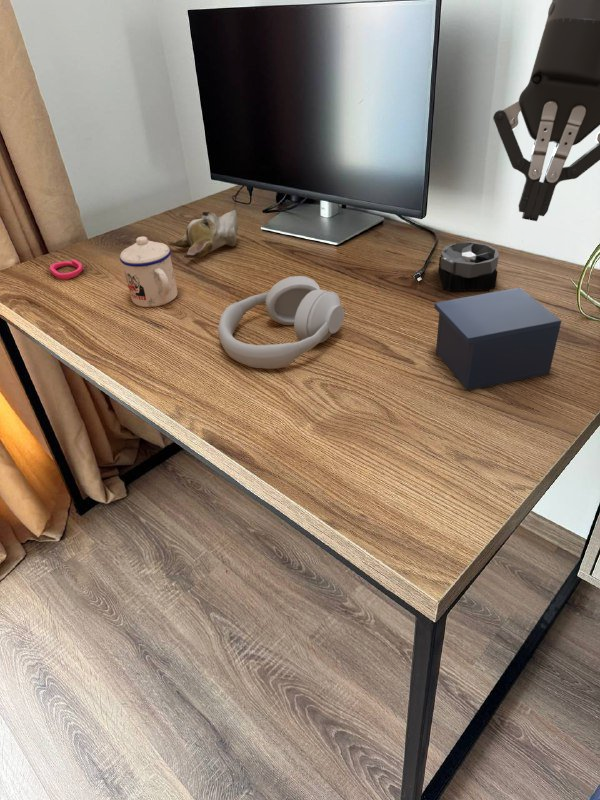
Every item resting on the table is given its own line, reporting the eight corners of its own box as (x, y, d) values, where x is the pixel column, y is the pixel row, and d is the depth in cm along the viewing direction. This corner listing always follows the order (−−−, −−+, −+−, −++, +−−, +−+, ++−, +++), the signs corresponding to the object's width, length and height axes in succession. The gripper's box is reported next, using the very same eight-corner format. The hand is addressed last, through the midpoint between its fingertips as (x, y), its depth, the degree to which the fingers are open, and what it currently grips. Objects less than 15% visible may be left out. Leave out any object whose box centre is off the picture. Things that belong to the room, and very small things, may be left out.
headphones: (303, 296, 106) (207, 346, 99) (295, 257, 101) (193, 307, 94) (367, 337, 93) (261, 396, 87) (361, 295, 88) (249, 355, 82)
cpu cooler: (493, 239, 109) (505, 262, 100) (489, 268, 112) (500, 292, 104) (436, 241, 109) (443, 264, 101) (434, 270, 113) (440, 294, 105)
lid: (467, 344, 77) (468, 338, 76) (433, 307, 85) (434, 302, 84) (560, 326, 79) (561, 320, 78) (518, 292, 87) (519, 287, 86)
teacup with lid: (123, 296, 112) (107, 237, 105) (166, 282, 116) (154, 224, 109) (149, 319, 104) (134, 257, 97) (194, 303, 108) (183, 242, 101)
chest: (467, 390, 81) (473, 342, 77) (435, 352, 90) (439, 306, 85) (549, 374, 83) (560, 326, 79) (510, 337, 92) (518, 292, 87)
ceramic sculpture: (245, 208, 121) (178, 230, 116) (252, 248, 127) (188, 270, 121) (223, 196, 129) (160, 216, 124) (231, 234, 134) (170, 254, 129)
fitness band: (89, 273, 122) (87, 266, 121) (62, 282, 119) (60, 275, 118) (72, 262, 127) (70, 256, 126) (46, 271, 124) (44, 264, 123)
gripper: (657, 41, 55) (590, 228, 62) (514, 23, 58) (466, 204, 65) (679, 24, 48) (602, 236, 56) (516, 6, 51) (463, 209, 59)
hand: (529, 219), depth 60 cm, fingers closed
